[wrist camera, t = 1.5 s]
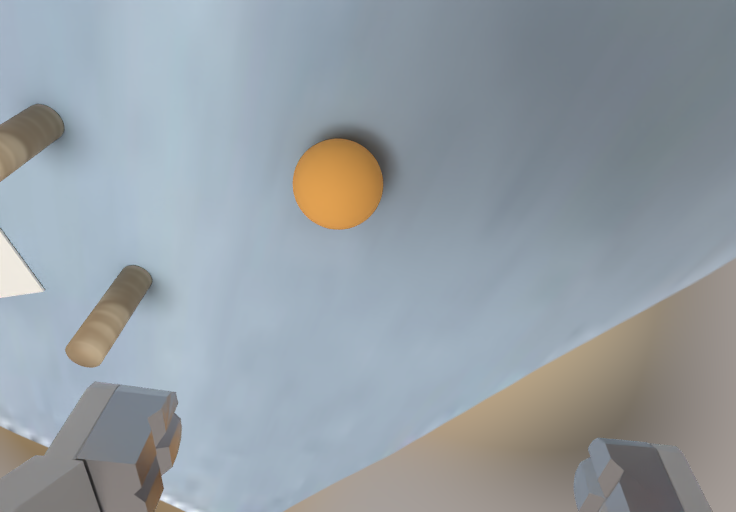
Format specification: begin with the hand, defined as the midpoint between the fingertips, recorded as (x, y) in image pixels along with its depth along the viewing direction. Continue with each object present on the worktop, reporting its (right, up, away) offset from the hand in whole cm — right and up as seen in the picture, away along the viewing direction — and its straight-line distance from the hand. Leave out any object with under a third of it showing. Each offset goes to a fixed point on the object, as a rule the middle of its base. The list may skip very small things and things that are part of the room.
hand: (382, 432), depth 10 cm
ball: (-2, +8, +25) cm, 26 cm away
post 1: (-23, +13, +27) cm, 38 cm away
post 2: (-20, +2, +35) cm, 40 cm away
